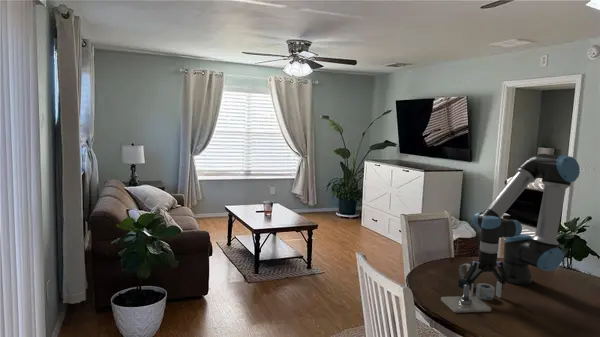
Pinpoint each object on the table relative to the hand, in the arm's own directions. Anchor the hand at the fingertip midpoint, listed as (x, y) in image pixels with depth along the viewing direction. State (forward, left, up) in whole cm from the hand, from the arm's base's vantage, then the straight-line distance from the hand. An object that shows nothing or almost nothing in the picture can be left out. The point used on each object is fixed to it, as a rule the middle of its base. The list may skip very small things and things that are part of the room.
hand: (484, 296), depth 186 cm
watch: (+2, -12, 0) cm, 12 cm away
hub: (0, 0, 0) cm, 0 cm away
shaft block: (+14, +8, 0) cm, 16 cm away
